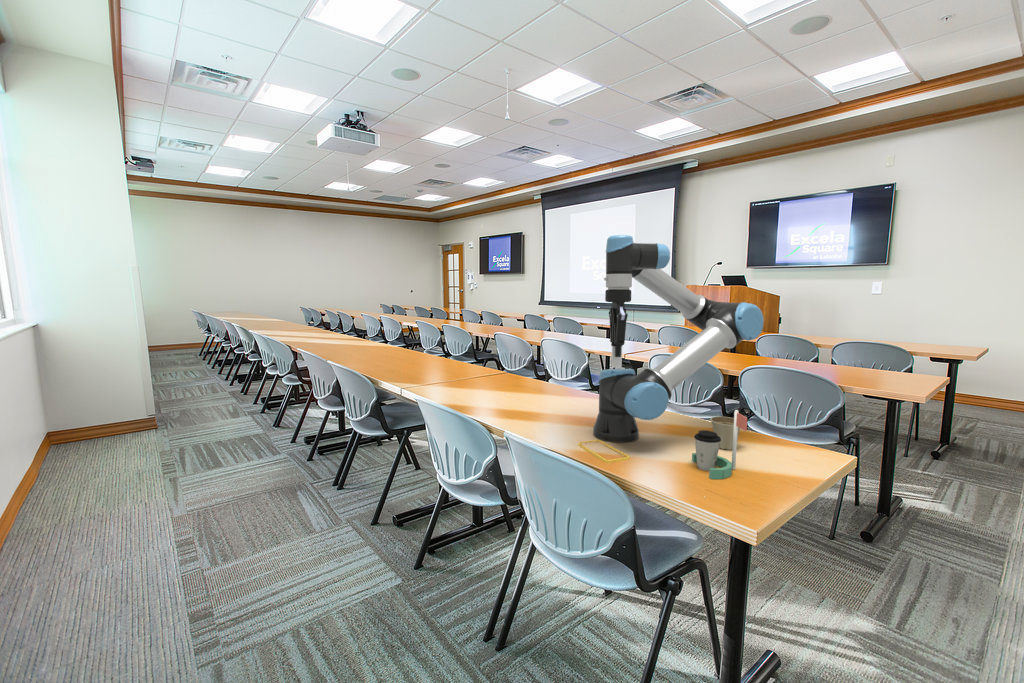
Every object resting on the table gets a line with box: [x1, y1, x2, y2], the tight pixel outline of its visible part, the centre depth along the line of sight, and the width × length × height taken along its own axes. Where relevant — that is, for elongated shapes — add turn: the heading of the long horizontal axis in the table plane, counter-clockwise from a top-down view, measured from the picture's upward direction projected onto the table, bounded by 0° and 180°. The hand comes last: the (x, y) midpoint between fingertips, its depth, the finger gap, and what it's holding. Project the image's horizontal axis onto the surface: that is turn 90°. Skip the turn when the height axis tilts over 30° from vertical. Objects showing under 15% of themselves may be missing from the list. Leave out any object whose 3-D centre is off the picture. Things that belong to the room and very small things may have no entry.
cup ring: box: [691, 452, 733, 480], centre depth 125 cm, size 12×8×2 cm, turn 1°
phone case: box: [577, 439, 630, 464], centre depth 139 cm, size 8×17×1 cm, turn 22°
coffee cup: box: [693, 429, 721, 472], centre depth 126 cm, size 7×7×10 cm
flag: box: [731, 409, 748, 471], centre depth 122 cm, size 6×1×17 cm, turn 1°
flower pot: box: [709, 416, 742, 451], centre depth 143 cm, size 9×9×9 cm
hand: (616, 367), depth 137 cm, fingers closed
